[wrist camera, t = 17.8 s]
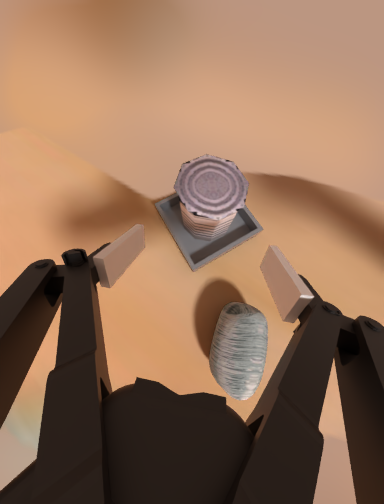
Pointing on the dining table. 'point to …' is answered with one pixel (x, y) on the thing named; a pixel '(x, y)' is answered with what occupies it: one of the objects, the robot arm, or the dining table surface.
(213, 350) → the spool
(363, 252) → the dining table surface
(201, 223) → the can
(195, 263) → the tray
